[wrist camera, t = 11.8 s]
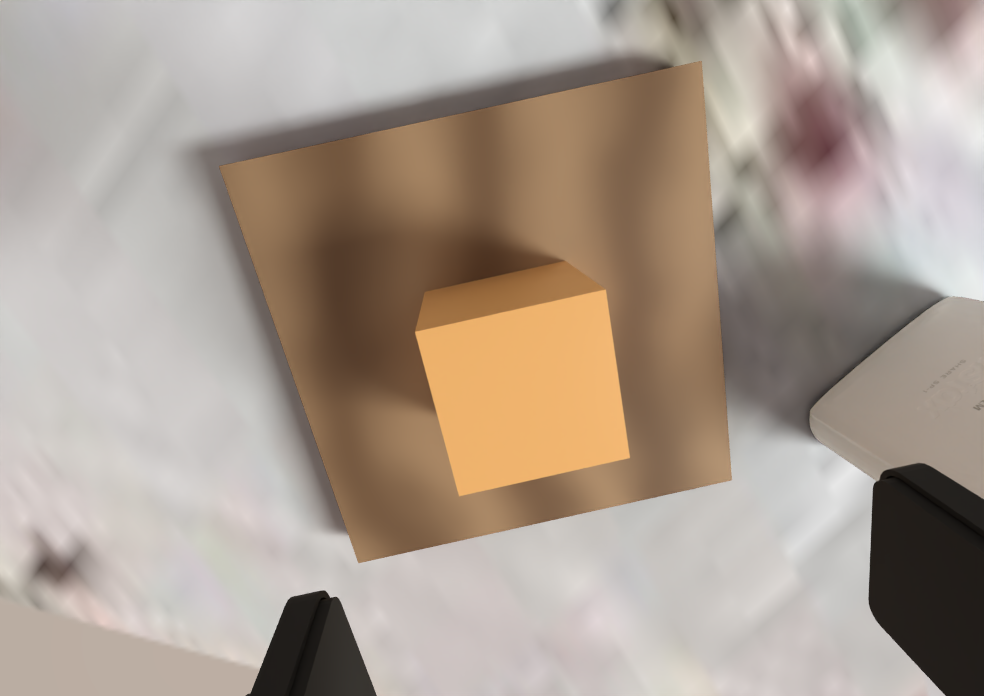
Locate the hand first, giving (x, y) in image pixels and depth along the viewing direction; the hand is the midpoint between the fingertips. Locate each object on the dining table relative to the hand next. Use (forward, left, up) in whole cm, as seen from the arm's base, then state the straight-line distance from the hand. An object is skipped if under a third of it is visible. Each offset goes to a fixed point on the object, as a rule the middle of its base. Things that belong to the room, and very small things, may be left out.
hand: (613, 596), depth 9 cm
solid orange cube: (0, 0, -16) cm, 16 cm away
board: (0, 0, -18) cm, 18 cm away
